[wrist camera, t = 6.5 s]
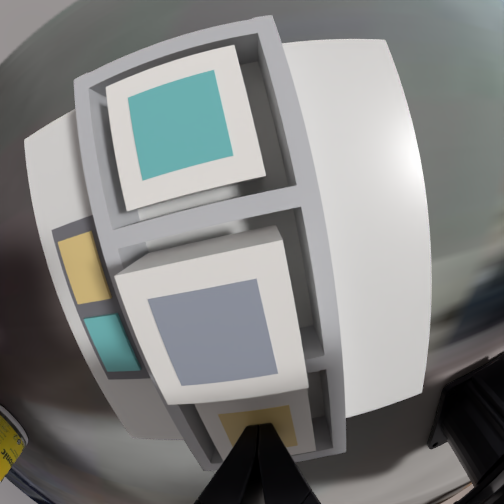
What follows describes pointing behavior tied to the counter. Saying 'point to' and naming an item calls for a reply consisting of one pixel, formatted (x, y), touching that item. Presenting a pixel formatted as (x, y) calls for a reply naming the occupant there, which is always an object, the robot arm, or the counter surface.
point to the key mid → (217, 318)
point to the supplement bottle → (10, 441)
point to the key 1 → (183, 129)
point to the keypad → (257, 226)
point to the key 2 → (261, 420)
